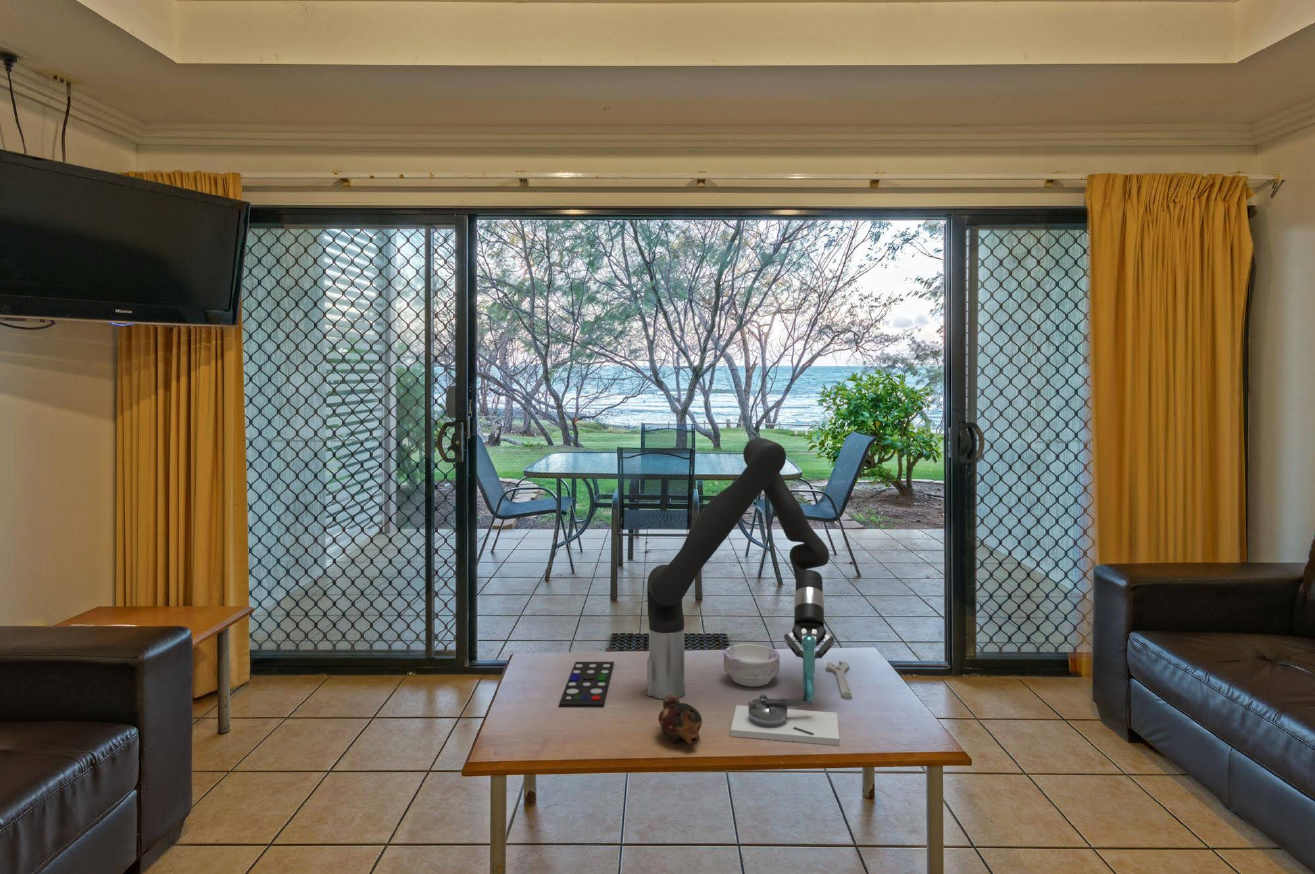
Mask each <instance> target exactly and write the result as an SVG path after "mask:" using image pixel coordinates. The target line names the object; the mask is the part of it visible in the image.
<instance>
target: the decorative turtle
mask: <svg viewBox="0 0 1315 874" xmlns="http://www.w3.org/2000/svg"><path fill="white" fill-rule="evenodd" d="M679 699H680V698H677V697H676V696H674V695H668V696H666V698H665V699H663V701H662V702H663V705H662V706H663V707H662V708H663V709H662V710H660V712H659V714H658V722H659V725H660V727H661V730H662V733H663V734H664V735H665V736H666V737H667V738H668V740H669V742H670V743H671V744H676V743H678V741H679V740H680V739H682V740H684V741H685V742H686V743H687V744H689V745H695V744H697V743H698V742H699V739H700V734H699V732H700V729H701V727H702V724H703V718H702V716H701V714H700V712H699V711H698V710H697V709H696V708H695V707H694V706H692V705H691V704H688V703H685V702H680V700H679Z"/></svg>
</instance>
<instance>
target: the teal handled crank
mask: <svg viewBox="0 0 1315 874" xmlns="http://www.w3.org/2000/svg"><path fill="white" fill-rule="evenodd" d="M801 646H803V649H802V651H803V659H802V671H803V673H802V674H803V675H802V676H803V677H802V678H803V679H802V683H803V684H802V687H803V688H802V691H803V692H802V697H794V698H777V699H776V698H769V697H768V696H767V695H766V693H762V694H759V698H757V699H756V698H755V699H752V700H751V701H748V703H747V704H748V705H747V706H748V718H749V720H750V721H751V722H752V723H754V724H756V725H759V726H765V727H776V726H781V725H783V724H785V723H786V722H787V709H788V707H797V706H812V705H813V702H814V701H815V671H816V659H815V647H816V648H817V646H816V640H815V638H814V637H812V636H805V637H804V638H803V639H802V645H801ZM814 670H815V671H814Z"/></svg>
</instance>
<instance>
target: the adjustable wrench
mask: <svg viewBox="0 0 1315 874" xmlns="http://www.w3.org/2000/svg"><path fill="white" fill-rule="evenodd" d="M848 670H850V664H849V663H848V662H845V661H842V660H838V665H835V664H834V663H832V662H831V661H829V662H826V666H825V671H826V672H828V673H831V672H832V674H833V673H834V674H833V675H835V677H837V678H836V680H837V685H838V689H839V693H840V697H841V699H843V700H845V699H846V701H847V700H848V701H849V700H850V699H851V700H852V699H853V693H852V691H851V688H850V685H849V683H848V680H847V676H846V673H848V672H849V671H848ZM829 671H830V672H829Z"/></svg>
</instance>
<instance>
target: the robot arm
mask: <svg viewBox="0 0 1315 874" xmlns="http://www.w3.org/2000/svg"><path fill="white" fill-rule="evenodd" d="M742 454H743V455H742V457H743V462H744V463H745V465H746V467H745V468H744V470H743V471H742V472H741V474H740V475H739V476H738V478H736V480H735V481H733V482H732V483H731V484H730V485H729V486H727V487H726V488H724V489H723V490H721V491H720V492H719V493H717V494H715V496H714V497H712V498H711V499H710V500H709V501H708V502H707V504H706V505H705V506H704V508H703V509H702V510H701V512H700V513H699V514H698V516H697V517H696V518H695V520H694V521H693V524H692V525H691V527H690V529H689V531H688V533H687V536H686V538H685V541H684V542H683V545H682V546H681V548H680V549H679V551H678V553H677V554H676V555H675V556H674V558H673V559H672V560H671V561H670V563H668V564H660V565H657V566H656V567H654V568H653V569H652V570H651V571H650V573H649V574H648V577H647V584H646V587H647V588H646V591H647V592H646V593H647V595H646V597H647V617H648V638H649V640H648V643H649V644H648V646H649V647H648V649H649V650H648V651H649V652H648V654H649V655H648V658H647V660H646V663H647V665H646V666H647V669H646V670H647V671H646V672H647V673H646V674H647V677H646V678H647V696H650V697H653V698H655V699H660V700H664V699H665V698H666V696H668V695H674V696H676V697H677V698H678V699H680V697H681V698H682V696H684V694H685V691H686V690H685V687H686V685H685V684H686V683H685V681H686V680H685V674H686V673H685V671H686V670H685V667H686V666H685V617H684V610H683V599H684V597H685V595H687V592H688V591H689V589H690V588H691V586H692V584H693V582H694V581H695V580H696V577H698V575H699V572H700V571H701V570H702V569H703V567H704V566H705V564H707V562H708V561H709V559H711V558H712V556H713V555H714V554H715V553H716V551H717V550H718V549H719V548H720V546H721V545H722V544H723V542H725V540H726V538H727V537H728V536H729V535H730V534H731V532H732V531H733V530H734V528H735V527H736V525H737V524H738V522H739V521H740V520H741V519H742V518H743V516H744V515H745V514H746V512H747V511H748V509H749V508H750V507H751V506H752V504H753V503H754V501H755V500H756V499H757V498H758V496H759V495H760V494H761V493H762V492H764V494H765V496H766V497H767V499H768V501H769V503H770V505H771V507H772V509H773V511H774V513H775V516H776V517H777V520H778V522H779V524H780V527H781V529H782V531H783V533H784V535H785V537H786V539H787V540H788V541H790V542H793V543H800V544H796V545H794V546H792V547H791V548H790V551H789V561H790V563H791V566H792V571H793V574H794V578H795V579H794V580H795V596H794V605H793V608H794V611H793V613H794V614H793V615H794V617H793V621H794V622H793V627H792V629H791V632H790V633H784V635H783V638H784V640H783V641H784V643H785V644H786V645H787V647H789V649H790V650H791V651H792V653H793V654H794V655H795V656H796V657H797V658H801V659H802V660H803V646H802V639H803V638H804V637H805V636H812V637H814V638H815V640H816V647H815V660H817V659H822V658H823V657H824V656H825V655H826V654H827V653H828V651H829V650H830V649H832V647H833V646H834V645H835V636H833V635H830V634H827V630H826V629H825V600H824V594H823V593H824V591H823V588H824V587H823V585H824V584H823V577H822V574H821V573H820V572H818V571H816V570H814V569H815V568H819V567H824V566H826V565H827V564H828V562H829V560H830V551H829V549H828V546H827V545H826V543H825V542H824V541H823V540H822V539H821V537H820V536H819V535H818V534H817V533H816V532H815V530H814V529H813V528H812V526H811V525H810V523H809V521H808V518H807V516H806V514H805V511H803V508H802V507H801V505H800V503H799V501H798V499H796V497H795V496H794V493H792V491H791V490H790V488H789V487H788V486H787V484H786V482H785V481H784V479H783V477H782V475H781V471H782V469H784V466H785V464H786V461H787V453H786V450H785V447H783V445H781V444H780V443H778V442H776V441H773V440H769V439H768V438H763V437H757V438H752V439H750V440H749V441H747V443H746V444H745V445H744V448H743V453H742ZM812 569H813V570H812ZM795 640H796V641H797V643H798V644H799V645H800V646H802V647H801V649H800V647H799V645H797V643H796V642H795ZM822 642H824V643H823V644H822V645H821V646H820V644H821V643H822ZM818 646H820V648H818V650H817V647H818ZM815 671H816V669H815V670H814V672H815Z"/></svg>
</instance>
